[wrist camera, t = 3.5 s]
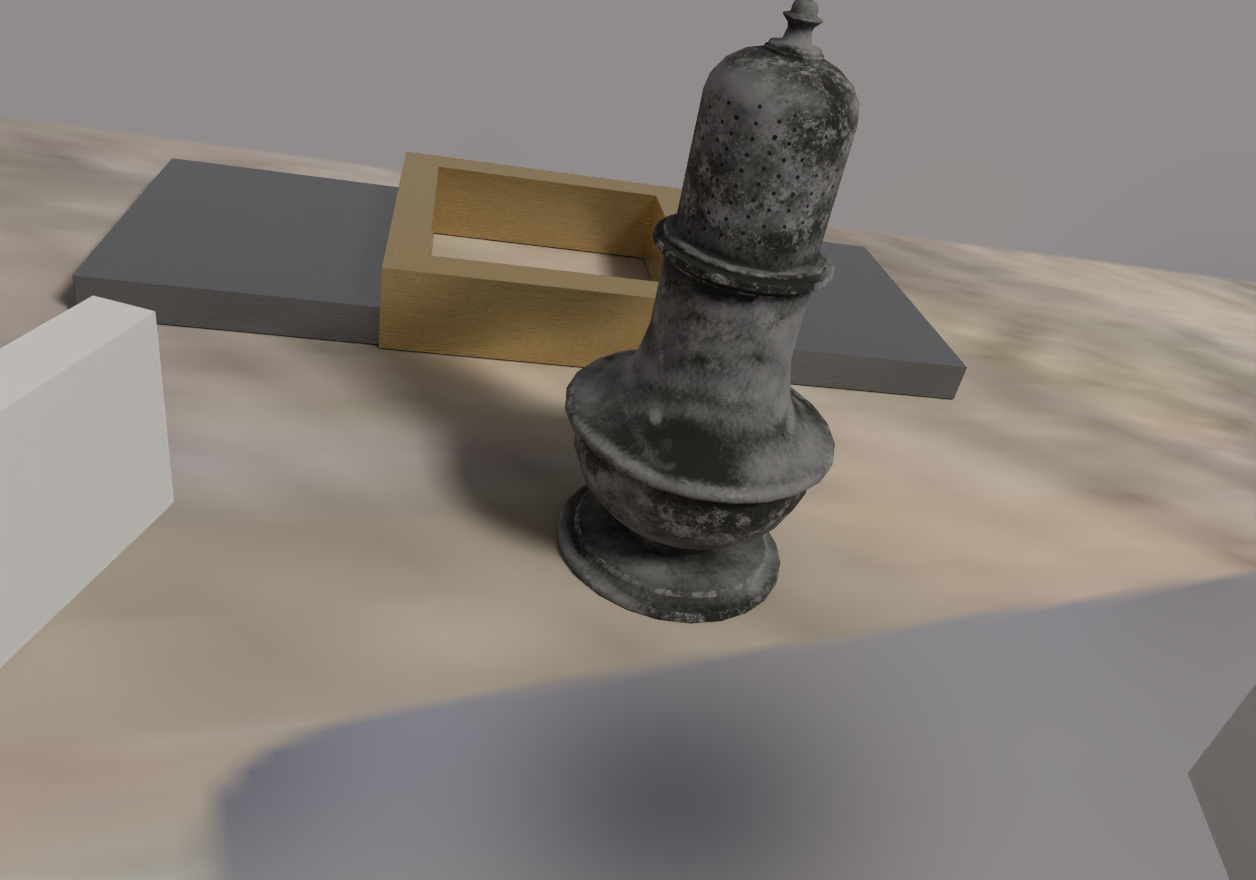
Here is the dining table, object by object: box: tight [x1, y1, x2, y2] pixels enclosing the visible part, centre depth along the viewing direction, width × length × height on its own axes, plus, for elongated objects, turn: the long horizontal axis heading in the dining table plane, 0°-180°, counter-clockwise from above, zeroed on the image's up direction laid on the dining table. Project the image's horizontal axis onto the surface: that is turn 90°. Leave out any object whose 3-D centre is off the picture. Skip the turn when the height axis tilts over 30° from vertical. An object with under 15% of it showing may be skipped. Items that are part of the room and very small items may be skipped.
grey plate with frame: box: [72, 152, 967, 399], centre depth 32 cm, size 26×10×2 cm, turn 97°
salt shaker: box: [557, 0, 859, 623], centre depth 19 cm, size 6×6×12 cm
